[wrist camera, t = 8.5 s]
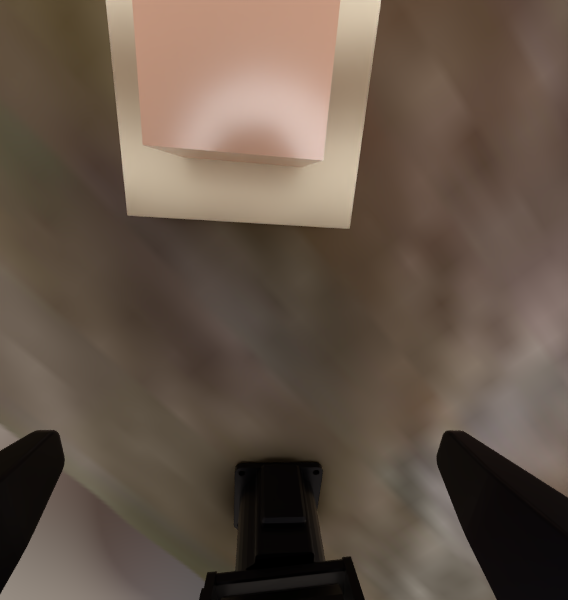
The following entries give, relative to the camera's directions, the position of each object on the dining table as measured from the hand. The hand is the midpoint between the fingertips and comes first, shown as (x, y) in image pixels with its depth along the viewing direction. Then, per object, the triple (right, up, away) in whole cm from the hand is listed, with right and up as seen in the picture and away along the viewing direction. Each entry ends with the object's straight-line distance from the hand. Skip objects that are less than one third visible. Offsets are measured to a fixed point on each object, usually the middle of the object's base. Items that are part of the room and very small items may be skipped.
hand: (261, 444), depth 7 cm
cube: (-1, +12, +5) cm, 13 cm away
